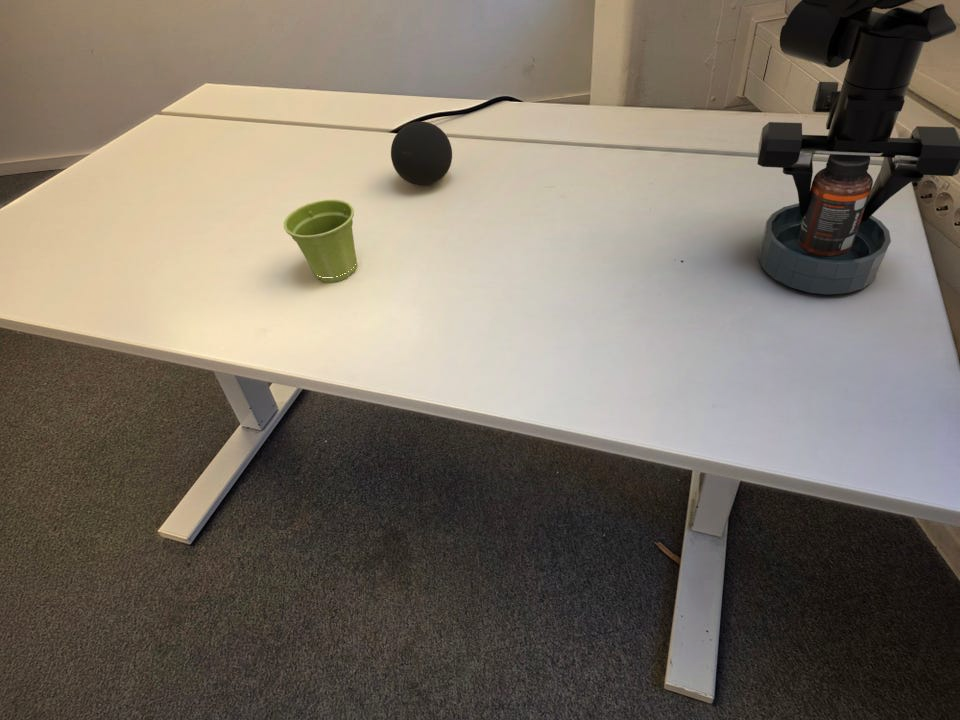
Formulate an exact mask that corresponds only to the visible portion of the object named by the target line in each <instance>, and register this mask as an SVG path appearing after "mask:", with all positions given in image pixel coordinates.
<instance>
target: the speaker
mask: <svg viewBox="0 0 960 720" xmlns="http://www.w3.org/2000/svg"><path fill="white" fill-rule="evenodd" d="M390 159H391V162H392V166H393V168H394V170H395V172H396V173H397V175H399V177H400V178H401V179H403V181H405V182H406V183H409V184H411V185H413V186H418V187H427V186H432V185H434V184H436V183H438V182H440V181H441V180H442V179H443V178H444V177H445V176H446V174H447V173H448V172H449V170H450V168H451V166H452V161H453V148H452V145H451V142H450V140H449V137H448V135H447V134H446V133H445V131H443V129H442V128H440V127H439V126H438V125H436V124H434V123H431V122H429V121H421V120H419V121H414V122H410V123H407V124H406V125H404V126H403V127H402V128H400V130H398V132H397V133H396V134H395V136H394V138H393V140H392V143H391V147H390Z"/></svg>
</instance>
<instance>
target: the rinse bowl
mask: <svg viewBox="0 0 960 720" xmlns="http://www.w3.org/2000/svg"><path fill="white" fill-rule="evenodd" d="M802 220H803V217H800V209H799V202H798V203H793V204H789V205H786V206H783V207H781V208H780V209H778V210H776V211H774V212H773V213H771V215H769V217H768V219H766V222H765V226H764V230H763V235H762V239H761V243H760V245H759V246H760V247H759V251H758V261H759V263H760V265H761V267H762V270H763V271H765V273H766V274H768V275H769V276H770V277H771V278H772V279H773V280H775V281H777V282H779V283H781V284H783V285H785V286H787V287H789V288H792V289H795V290H800V291H802V292H806V293H810V294H819V295H839V294H840V295H841V294H849V293H853V292H856V291H859V290H863V289H865V288H867V286H869V285H870V284H872V283H873V282H874V281H875V279H876V278H877V275H878V273H879V271H880V269H881V267H882V264H883V261H884V260H885V257H886V254H887V252H888V250H889V248H890V246H891V245H890V244H891V242H892V239H891V233H890V230H889V229H888V228H887V226H886V225H885V224H884V223H883V222H882V221H881V220H879V219H878V218H877V217H875V216H874V215H873V214H872V215H871V216H870V217H869V218H868V219H867V220H866V221H865V222H862V221H861V222H860V225H859V228H858V232H857V234H856V237H855V241H854V243H853V245H852V248H851V249H850V250H849V251H848V252H847V253H845V254H843V255H839V256H835V257H823V256H817V255H813V254H811V253H808V252H806V251H805V250H804V249H802V248H801V247H800V245H799V243H798V237H799V232H800V228H801V224H802Z"/></svg>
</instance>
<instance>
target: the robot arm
mask: <svg viewBox="0 0 960 720" xmlns="http://www.w3.org/2000/svg"><path fill="white" fill-rule="evenodd" d="M912 2H916V0H801V1H799V2H798V3H797V4H796V5H795V6H794V8H793V9H792V11H790V13H789V15H788V17H787V18H786V20H785V23H784V24H783V25H782V27H781V28H780V29H781V30H780V33H779V47H780V50H781V52H782V53H783V54H784V55H785V56H789V57H793V58H796V59H799V60H801V61H802V60H803V61H806V62H809V63H813V64H817V65H820V66H823V67H827V68H830V69H833V68H838V67H841V65H843V64H844V63H845V62H846V61H848V60H849V61H848V64H847V67H846V71H845V74H844V77H843V81H842V85H841V88H840V90H839V82H838V81H818V84H817V88H816V91H815V93H814V94H815V95H814V99H813V103H812V109H811V110H812V113H824V114H825V113H827V114H828V117H827V120H826V123H825V126H826V127H825V129H826V130H828V132H827V135H825V134H824V135H821V134H820V135H819V134H803V123H802V122H786V121H785V122H782V121H781V122H780V121H769V122H767V123H766V124H765V125H764V126H763V127H762V129H761V133H760V137H759V142H758V150H757V151H758V153H757V165H758V166H760V167H762V168H777V169H778V168H781V169H782V173H783V174H784V175H786V176H792V179H793V182H794V186H795V188H796V192H797V197H798V203H799V209H800V217H804V216H805V213H806V211H807V207H808V201H809V194H810V189H811V186H812V182H813V175H814V166H813V159H814V156H815V155H826V156H829V155H845V156H868V157H870V158H883V160H882V163H881V167H880V169H879V172H878V175H877V176H876V179H875V180H874V182H873V185H872V189H871V192H870V195H869V198H868V201H867V204H866V207H865V210H864V213H863V216H862V219H861V221H862V222H865V221H866V220H867V219H868V218H869V217H870V216H871V215H872V216H873V214H875V213H876V212H877V211H878V210H879V209H880V208H881V207H882V206H883V205H884V204H885V203H886V202H887V201H888V200H889V199H891V198H892V197H893V196H895V194H897V193H898V192H900V191H901V190H902V189H904V188H905V187H906V186H907V185H909V184H910V183H912V182H914V183H917V182H921V181H922V180H923V179H924V176H935V177H936V176H937V177H938V176H939V177H954V176H956V175H958V174H959V173H960V133H959V131H958V130H957V129H956V128H955V127H954V126H926V125H925V126H922V125H920V126H919V125H917V126H916V127H915V128H914V129H913V130H912V131H911V134H910V136H899V137H891V136H892V134H893V130H894V128H895V125H896V122H897V119H898V117H899V114H900V113H901V112H902V110H903V107H904V105H905V102H906V101H905V98H906V95H907V92H908V89H909V86H910V83H911V81H912V78H913V76H914V72H915V69H916V67H917V65H918V61H919V60H920V59H919V58H920V56H921V53H922V50H923V48H924V46H925V43H929V42H933V41H935V40H938V39H940V38H943V37H946V36H948V35H952V34H953V33H955V32H956V31H957V25H956V23H955V21H954V20H953V18H952V17H951V16H950V15H949V14H948V13H947V11H946V8H945V3H938V4H935V5H934V6H931V7H927V8H925V9H924V10H917V9H913V8H906V7H902V6H904V5H907V4H909V3H912ZM874 8H875V9H878V10H887V11H886V12H885V13H883V12H877V11H873V9H874Z"/></svg>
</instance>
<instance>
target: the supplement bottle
mask: <svg viewBox="0 0 960 720" xmlns="http://www.w3.org/2000/svg"><path fill="white" fill-rule="evenodd" d="M870 162H871V157H868V156H845V155H828V159H827V161H826V164H825V167H824V168H822V169H820V170H819V171H818V172H816V174H814V176H813V178H812V181H811V188H810V194H809V201H808V207H807V211H806V213H805V216H804V217H803V220H802V224H801V228H800V232H799V237H798V243H799V245H800V247H801V248H802V249H804V250H805V251H806V252H808V253H811V254H813V255H817V256H823V257H835V256H839V255H843V254H845V253H847V252H848V251H849V250H850V249H851V248H852V245H853V243H854V241H855V237H856V234H857V232H858V228H859V225H860V222H861V219H862V216H863V213H864V210H865V207H866V204H867V201H868V198H869V195H870V192H871V189H872V187H873V185H874V179H873V177H872V175H871V174H870V173H869V172H868V170H869V166H870Z"/></svg>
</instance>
